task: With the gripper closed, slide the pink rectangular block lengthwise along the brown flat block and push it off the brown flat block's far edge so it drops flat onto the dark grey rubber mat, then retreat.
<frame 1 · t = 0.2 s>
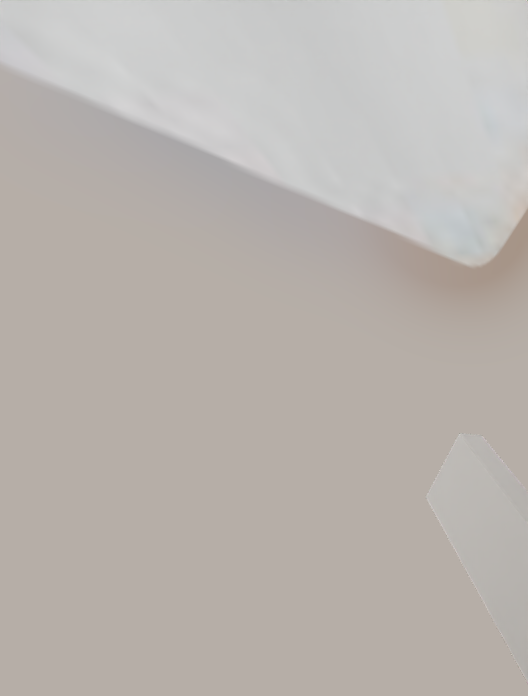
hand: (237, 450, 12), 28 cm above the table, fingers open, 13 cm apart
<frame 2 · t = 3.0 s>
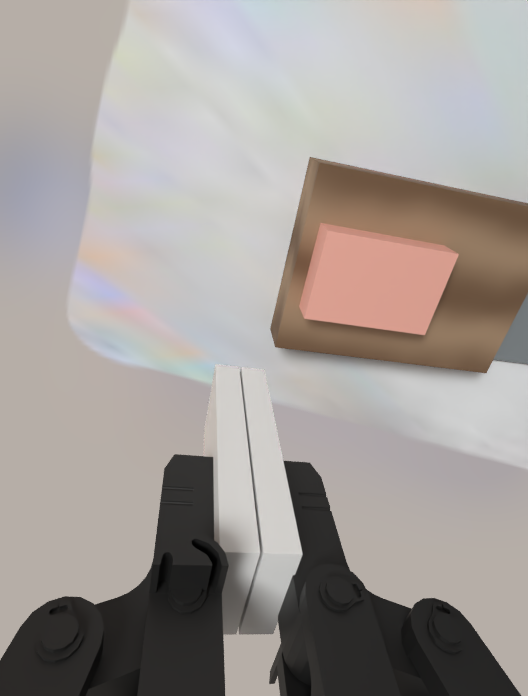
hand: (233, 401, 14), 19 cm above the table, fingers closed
brown flat block: (399, 269, 34), on the table
pink rectangular block: (370, 276, 30), point 3 cm above the table, touching brown flat block
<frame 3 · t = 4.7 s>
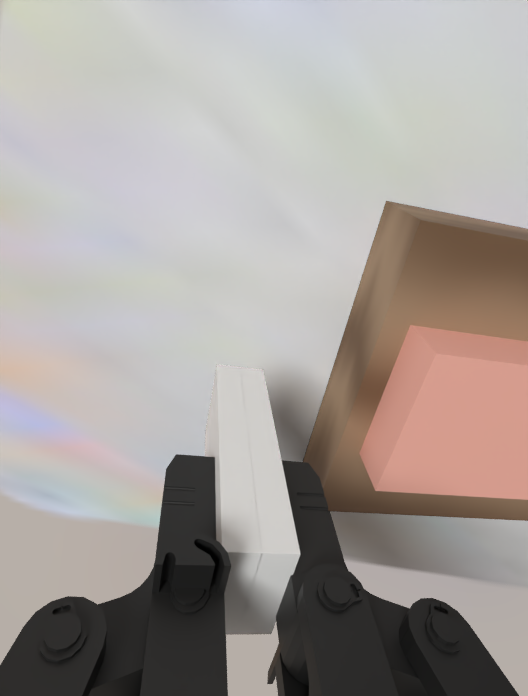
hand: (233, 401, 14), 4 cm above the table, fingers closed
brown flat block: (515, 374, 21), on the table
pink rectangular block: (485, 405, 17), point 3 cm above the table, touching brown flat block
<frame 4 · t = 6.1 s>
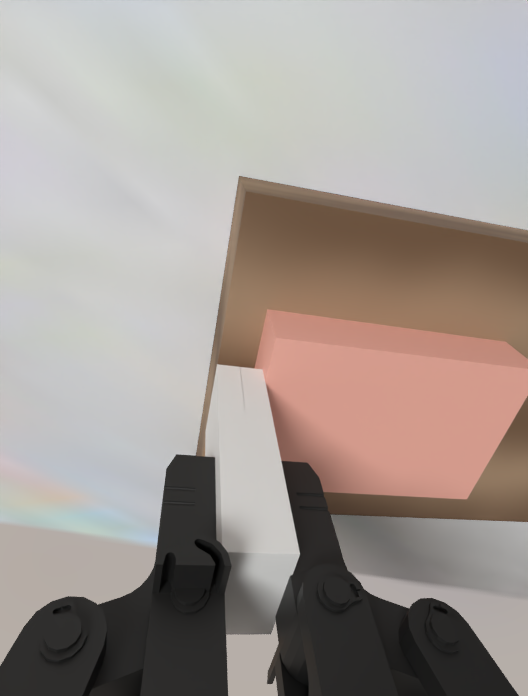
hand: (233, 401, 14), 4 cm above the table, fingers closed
brown flat block: (411, 363, 20), on the table
pink rectangular block: (367, 396, 16), point 3 cm above the table, touching brown flat block, gripper
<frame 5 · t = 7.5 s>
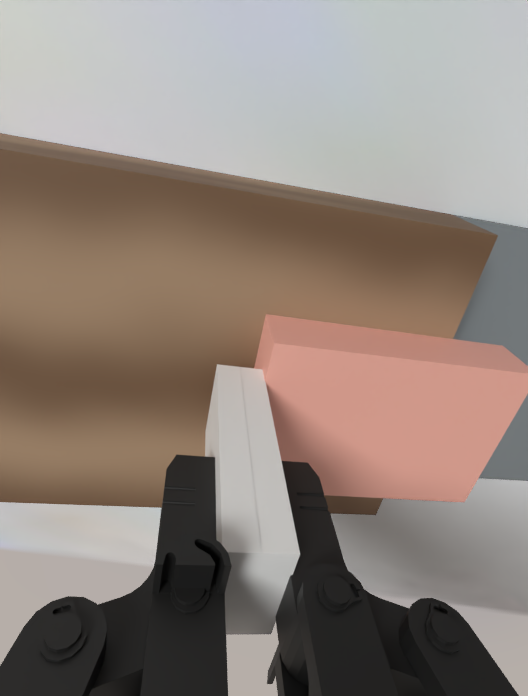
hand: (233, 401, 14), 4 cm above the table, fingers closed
brown flat block: (195, 339, 18), on the table
pink rectangular block: (365, 400, 16), point 3 cm above the table, touching brown flat block, gripper
mat: (521, 374, 21), on the table
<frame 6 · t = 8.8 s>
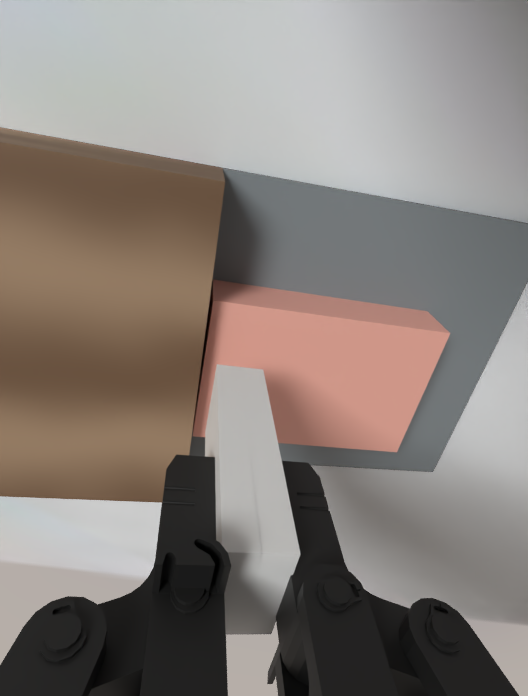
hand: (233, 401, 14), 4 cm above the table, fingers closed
pink rectangular block: (307, 360, 19), resting on mat
mat: (349, 351, 19), on the table
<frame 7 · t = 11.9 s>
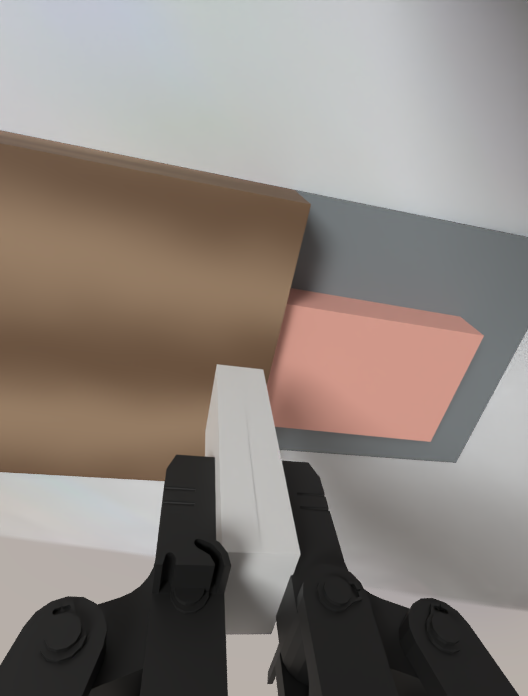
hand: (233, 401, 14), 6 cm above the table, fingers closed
brown flat block: (54, 308, 18), on the table
pink rectangular block: (353, 358, 21), resting on mat
mat: (389, 351, 21), on the table
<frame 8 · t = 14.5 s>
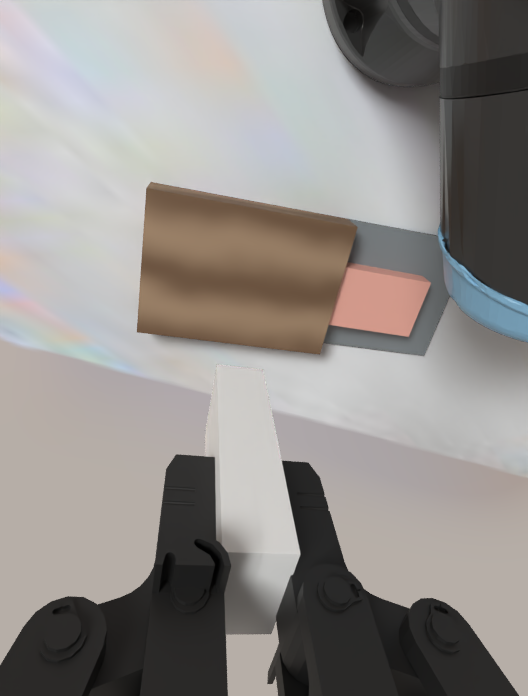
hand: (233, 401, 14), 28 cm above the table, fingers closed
brown flat block: (241, 270, 42), on the table
pink rectangular block: (371, 296, 44), resting on mat
mat: (389, 293, 45), on the table
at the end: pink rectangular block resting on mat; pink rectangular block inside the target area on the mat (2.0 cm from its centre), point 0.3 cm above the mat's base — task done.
